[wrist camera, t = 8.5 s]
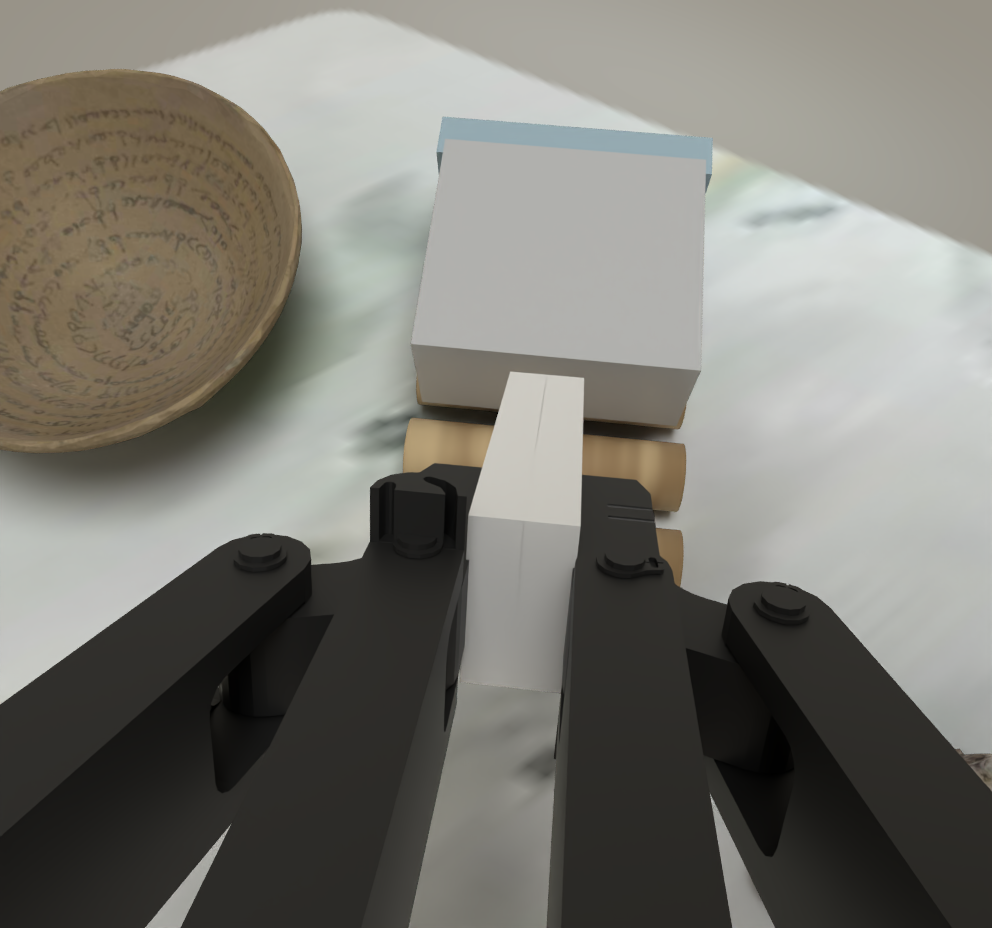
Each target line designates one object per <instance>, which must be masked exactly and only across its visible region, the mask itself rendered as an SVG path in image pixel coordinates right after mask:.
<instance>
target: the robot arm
mask: <svg viewBox="0 0 992 928" xmlns="http://www.w3.org/2000/svg"><path fill="white" fill-rule="evenodd" d="M583 404H584V378H579V377H568V376H556V375H545V374H533V373H521V372H510V375H509V378H508V381H507V385H506V388H505V392H504V395H503V398H502V402H501V405H500V409H499V412H498V416H497V419H496V422H495V426H494V429H493V433H492V436H491V439H490V443H489V446H488V450H487V453H486V457H485V460H484V463H483V467H472V466H462V465H451V464H440V463H434V464H432V465H430V466H429V467H427V468H426V469H424V470H422V471H421V472H407V473H400V474H394V475H390V476H387V477H385V478H382V479H380V480H378V481H377V482H375V483H374V484H373V485H372V486H371V487H370V542H369V544H368V547H367V549H366V551H365V553H364V555H363V557H362V558H360V559H356V560H353V561H348V562H341V563H332V564H318V565H311V555H310V549H309V548H308V547H307V546H306V545H304V544H303V543H302V542H301V541H298V540H296V539H293V538H291V537H288V536H280V535H274V534H266V533H263V534H262V535H260V534H252V535H249V536H246V537H243V538H239V539H235V540H232V541H230V542H228V543H226V544H224V545H222V546H220V547H218V548H217V549H215V550H214V551H213V552H211V553H210V554H208V555H207V556H206V557H204V558H203V559H201V560H200V561H199V562H197V563H196V564H194V565H193V566H192V567H190V568H189V569H188V570H186V571H185V572H183V573H182V574H181V575H179V576H178V577H176V578H175V579H174V580H172V581H171V582H170V583H168V584H167V585H165V586H164V587H163V588H161V589H160V590H158V591H157V592H156V593H154V594H153V595H152V596H150V597H149V598H147V599H146V600H145V601H143V602H142V603H140V604H139V605H138V606H136V607H135V608H133V609H132V610H131V611H129V612H128V613H127V614H125V615H124V616H122V617H121V618H120V619H118V620H117V621H115V622H114V623H113V624H111V625H110V626H109V627H107V628H106V629H104V630H103V631H102V632H100V633H99V634H97V635H96V636H95V637H93V638H92V639H91V640H89V641H88V642H86V643H85V644H84V645H82V646H81V647H79V648H78V649H77V650H75V651H74V652H72V653H71V654H70V655H68V656H67V657H66V658H64V659H63V660H61V661H60V662H59V663H57V664H56V665H54V666H53V667H52V668H50V669H49V670H48V671H46V672H45V673H43V674H42V675H41V676H39V677H38V678H36V679H35V680H34V681H32V682H31V683H29V684H28V685H27V686H25V687H24V688H23V689H21V690H20V691H18V692H17V693H16V694H14V695H13V696H11V697H10V698H9V699H7V700H6V701H5V702H3V703H2V704H0V928H145V927H146V926H147V925H148V923H149V922H150V921H151V920H152V919H153V917H154V916H155V915H156V914H157V913H158V911H159V910H160V909H161V908H162V907H163V905H164V904H165V903H166V902H167V901H168V899H169V898H170V897H171V896H172V894H173V893H174V892H175V891H176V890H177V888H178V887H179V886H180V885H181V884H182V882H183V881H184V880H185V879H186V878H187V876H188V875H189V874H190V873H191V872H192V870H193V869H194V868H195V867H196V866H197V864H198V863H199V862H200V861H201V860H202V858H203V857H204V856H205V855H206V854H207V852H208V851H209V850H210V849H211V848H212V846H213V845H214V844H215V843H216V842H217V840H218V839H219V838H220V837H221V835H222V834H223V833H224V832H225V831H226V829H227V828H228V827H229V826H230V825H231V826H230V828H229V830H228V832H227V834H226V836H225V838H224V840H223V842H222V844H221V846H220V848H219V850H218V853H217V855H216V857H215V859H214V861H213V863H212V865H211V867H210V869H209V871H208V873H207V875H206V877H205V879H204V881H203V883H202V885H201V887H200V889H199V891H198V893H197V895H196V897H195V899H194V901H193V904H192V906H191V908H190V910H189V912H188V914H187V916H186V918H185V920H184V922H183V924H182V926H181V928H408V926H409V921H410V917H411V912H412V908H413V903H414V898H415V894H416V889H417V884H418V880H419V875H420V871H421V866H422V861H423V857H424V852H425V848H426V843H427V838H428V834H429V829H430V824H431V820H432V815H433V811H434V806H435V801H436V797H437V792H438V788H439V783H440V778H441V774H442V769H443V764H444V760H445V755H446V751H447V746H448V741H449V737H450V732H451V727H452V723H453V718H454V714H455V709H456V704H457V684H458V673H459V669H460V682H463V683H472V684H481V685H490V686H499V687H508V688H517V689H526V690H535V691H544V692H553V693H561V698H560V707H559V716H558V725H557V735H556V744H555V753H554V759H556V770H555V788H554V806H553V823H552V841H551V859H550V877H549V894H548V912H547V928H732V924H731V918H730V912H729V906H728V900H727V894H726V888H725V882H724V876H723V870H722V864H721V858H720V852H719V846H718V840H717V834H716V828H715V822H714V816H713V810H712V804H711V798H710V794H711V796H712V798H713V800H714V802H715V804H716V806H717V808H718V810H719V812H720V814H721V816H722V818H723V821H724V823H725V825H726V827H727V829H728V831H729V833H730V835H731V837H732V839H733V841H734V843H735V845H736V847H737V850H738V852H739V854H740V856H741V858H742V860H743V862H744V864H745V866H746V868H747V870H748V872H749V874H750V876H751V879H752V881H753V883H754V885H755V887H756V889H757V891H758V893H759V895H760V897H761V899H762V901H763V903H764V905H765V908H766V910H767V912H768V914H769V916H770V918H771V920H772V922H773V924H774V926H775V928H992V791H991V790H990V788H989V787H988V786H987V785H986V784H985V783H984V782H983V781H982V779H981V778H980V777H979V776H978V775H977V774H976V773H975V771H974V770H973V769H972V768H971V767H970V766H969V765H968V764H967V762H966V761H965V760H964V759H963V758H962V757H961V756H960V754H959V753H958V752H957V751H956V750H955V749H954V748H953V747H952V745H951V744H950V743H949V742H948V741H947V740H946V739H945V737H944V736H943V735H942V734H941V733H940V732H939V731H938V729H937V728H936V727H935V726H934V725H933V724H932V723H931V722H930V720H929V719H928V718H927V717H926V716H925V715H924V714H923V712H922V711H921V710H920V709H919V708H918V707H917V706H916V705H915V703H914V702H913V701H912V700H911V699H910V698H909V697H908V695H907V694H906V693H905V692H904V691H903V690H902V689H901V687H900V686H899V685H898V684H897V683H896V682H895V681H894V680H893V678H892V677H891V676H890V675H889V674H888V673H887V672H886V670H885V669H884V668H883V667H882V666H881V665H880V664H879V663H878V661H877V660H876V659H875V658H874V657H873V656H872V655H871V653H870V652H869V651H868V650H867V649H866V648H865V647H864V646H863V644H862V643H861V642H860V641H859V640H858V639H857V638H856V636H855V635H854V634H853V633H852V632H851V631H850V630H849V628H848V627H847V626H846V625H845V624H844V623H843V622H842V621H841V619H840V618H839V617H838V616H837V615H836V614H835V613H834V611H833V610H832V609H831V608H830V607H829V606H828V605H826V604H825V603H824V602H823V601H821V600H820V599H819V598H818V597H816V596H814V595H812V594H810V593H808V592H806V591H804V590H802V589H800V588H799V587H796V586H793V585H790V584H789V585H786V584H785V583H780V582H761V581H760V582H753V583H746V584H742V585H741V586H739V587H737V588H735V589H733V590H732V592H731V594H730V597H729V599H728V604H723V603H720V602H716V601H712V600H709V599H706V598H703V597H700V596H697V595H694V594H692V593H690V592H688V591H686V590H684V589H682V588H680V587H679V586H677V585H676V584H675V582H674V576H673V571H672V569H671V567H670V565H669V563H668V562H667V561H666V560H665V559H663V558H662V557H661V556H660V553H659V547H658V540H657V533H656V527H655V523H654V513H653V507H652V500H651V494H650V493H649V492H648V491H647V490H646V489H645V488H644V487H643V486H642V485H641V484H640V483H639V482H638V481H637V480H633V479H623V478H612V477H602V476H591V475H582V446H583ZM460 664H461V668H460ZM218 686H219V687H218ZM231 823H232V824H231Z"/></svg>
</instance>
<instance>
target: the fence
mask: <svg viewBox="0 0 992 928" xmlns="http://www.w3.org/2000/svg"><path fill="white" fill-rule="evenodd" d="M445 139H454V140H466V141H479V142H491V143H503V144H516V145H528V146H541V147H553V148H566V149H578V150H591V151H603V152H616V153H628V154H641V155H653V156H666V157H678V158H690V159H703V160H706V182H705V194H706V191H707V187H708V184H709V181H710V178H711V175H712V141H713V139H712V138H706V137H693V136H680V135H668V134H655V133H642V132H630V131H617V130H604V129H592V128H579V127H566V126H554V125H541V124H528V123H516V122H503V121H490V120H478V119H465V118H452V117H443V118H442V123H441V129H440V135H439V141H438V147H437V161H438V170H439V173H440V167H441V161H442V155H443V149H444V143H445Z"/></svg>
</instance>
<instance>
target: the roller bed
mask: <svg viewBox="0 0 992 928" xmlns="http://www.w3.org/2000/svg"><path fill="white" fill-rule="evenodd" d="M416 394H417V402H418V404H420V405H431V406H441V407H452V408H462V409H472V410H483V411H493V412H499V409H492V408H481V407H471V406H460V405H450V404H439V403H429V402H422V398H421V393H420V388H419V383H418V378H417V381H416ZM686 404H687V403H686ZM685 410H686V405H685V408H684V410H683V412H682V415H681V417H680V419H679V421H678V424H677V426H669V425H659V424H648V423H638V422H627V421H617V420H607V419H596V418H586V417H583V420H587V421H598V422H608V423H619V424H629V425H640V426H650V427H660V428H671V429H680V427H681V425H682V422H683V419H684V415H685ZM493 429H494V426H493V425H483V424H472V423H462V422H452V421H441V420H431V419H420V418H411V419H410V422H409V425H408V428H407V433H406V439H405V446H404V456H403V473H407V472H421V471H422V470H424V469H426V468H427V467H429V466H430V465H432V464H434V463H440V464H451V465H462V466H472V467H483V463H484V460H485V457H486V453H487V450H488V446H489V443H490V439H491V436H492V433H493ZM582 475H591V476H602V477H612V478H623V479H633V480H637V481H638V482H639V483H640V484H641V485H642V486H643V487H644V488H645V489H646V490H647V491H648V492H649V493H650V494H651V500H652V507H653V510H663V511H673V512H677V511H678V510H679V507H680V504H681V501H682V496H683V491H684V484H685V475H686V450H685V446H684V444H679V443H669V442H659V441H648V440H638V439H627V438H617V437H607V436H596V435H586V434H583V446H582ZM656 533H657V540H658V547H659V553H660V556H661V557H662V558H663V559H665V560H666V561H667V562H668V563H669V565H670V567H671V569H672V571H673V576H674V582H675V584H676V585H677V586H679V587H680V584H681V578H682V569H683V537H682V533H681V531H680V530H671V529H661V528H656Z"/></svg>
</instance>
